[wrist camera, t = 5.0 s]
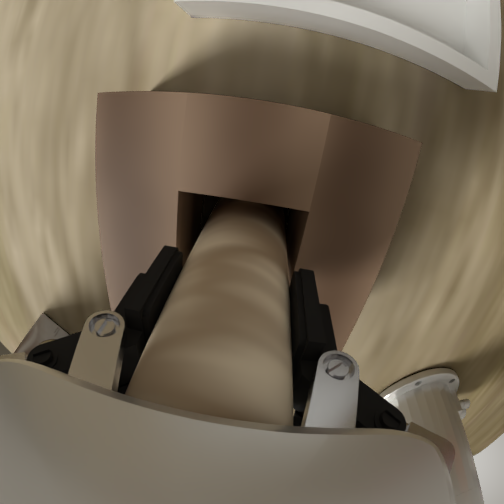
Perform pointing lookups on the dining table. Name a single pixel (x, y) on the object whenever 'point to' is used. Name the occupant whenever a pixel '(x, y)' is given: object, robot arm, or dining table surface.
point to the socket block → (249, 185)
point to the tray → (390, 29)
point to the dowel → (226, 323)
